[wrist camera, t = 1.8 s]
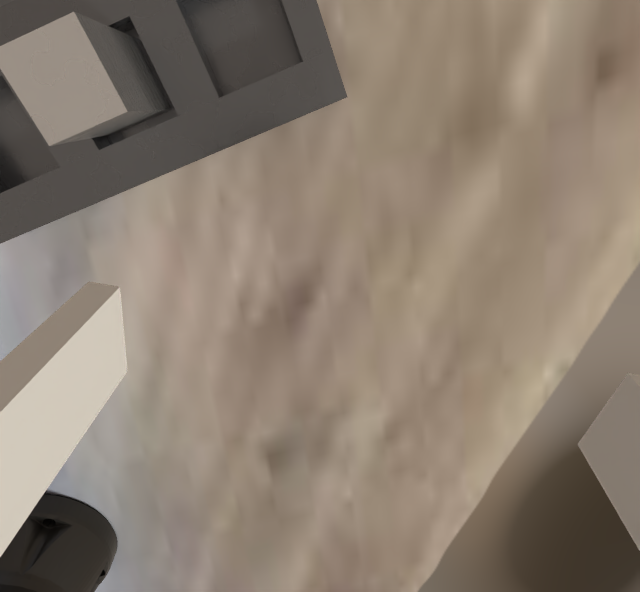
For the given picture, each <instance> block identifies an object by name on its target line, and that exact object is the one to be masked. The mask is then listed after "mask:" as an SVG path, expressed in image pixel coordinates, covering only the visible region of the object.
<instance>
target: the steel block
mask: <svg viewBox="0 0 640 592" xmlns="http://www.w3.org/2000/svg"><path fill="white" fill-rule="evenodd" d="M0 69H1V71H2V72H3V74H4V75H5V77H6V79H7V80H8V82H9V83H10V85H11V87H12V88H13V90H14V91H15V93H16V94H17V96H18V98H19V99H20V101H21V102H22V104H23V105H24V107H25V109H26V110H27V112H28V113H29V115H30V117H31V118H32V120H33V121H34V123H35V124H36V126H37V128H38V129H39V131H40V132H41V134H42V135H43V137H44V139H45V140H46V142H47V143H48V145H49V146H53V145H58V144H63V143H68V142H74V141H79V140H84V139H90V138H95V137H100V136H105V135H111V134H116V133H119V132H122V131H124V130H126V129H129V128H131V127H133V126H135V125H138V124H140V123H142V122H145V121H147V120H149V119H151V118H154V117H156V116H158V115H161V114H163V113H165V112H168V111H170V110H172V109H174V107H173V105H172V103H171V101H170V99H169V97H168V95H167V93H166V91H165V89H164V86H163V84H162V82H161V80H160V78H159V76H158V74H157V72H156V70H155V68H154V66H153V64H152V62H151V60H150V58H149V56H148V54H147V52H146V50H145V48H144V46H143V44H142V42H141V40H140V39H138V38H135V37H133V36H131V35H128V34H126V33H124V32H121V31H119V30H116V29H114V28H112V27H109V26H107V25H105V24H102V23H100V22H97V21H95V20H93V19H90V18H88V17H86V16H83V15H81V14H79V13H76V12H72V13H70V14H68V15H66V16H63V17H61V18H59V19H57V20H55V21H53V22H51V23H49V24H46V25H44V26H42V27H40V28H38V29H36V30H34V31H32V32H29V33H27V34H25V35H23V36H21V37H19V38H17V39H15V40H12V41H10V42H8V43H6V44H4V45H2V46H0Z"/></svg>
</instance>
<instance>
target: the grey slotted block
mask: <svg viewBox="0 0 640 592" xmlns="http://www.w3.org/2000/svg"><path fill="white" fill-rule="evenodd" d="M72 12H76V13H79V14H81V15H83V16H86V17H88V18H90V19H93V20H95V21H97V22H100V23H102V24H105V25H107V26H109V27H112V28H114V29H116V30H119V31H121V32H124V33H126V34H128V35H131V36H133V37H135V38H138V39H140V40H141V42H142V44H143V46H144V48H145V50H146V52H147V54H148V56H149V58H150V60H151V62H152V64H153V66H154V68H155V70H156V72H157V74H158V76H159V78H160V80H161V82H162V84H163V86H164V89H165V91H166V93H167V95H168V97H169V99H170V101H171V103H172V105H173V107H174V109H172V110H170V111H168V112H165V113H163V114H161V115H158V116H156V117H154V118H151V119H149V120H147V121H145V122H142V123H140V124H138V125H135V126H133V127H131V128H129V129H126V130H124V131H122V132H119V133H116V134H111V135H105V136H100V137H95V138H90V139H84V140H79V141H74V142H68V143H63V144H58V145H53V146H49V145H48V143H47V142H46V140H45V139H44V137H43V135H42V134H41V132H40V131H39V129H38V128H37V126H36V124H35V123H34V121H33V120H32V118H31V117H30V115H29V113H28V112H27V110H26V109H25V107H24V105H23V104H22V102H21V101H20V99H19V98H18V96H17V94H16V93H15V91H14V90H13V88H12V87H11V85H10V83H9V82H8V80H7V79H6V77H5V75H4V74H3V72H2V71H1V69H0V243H3V242H5V241H8V240H10V239H12V238H15V237H17V236H19V235H22V234H24V233H26V232H29V231H31V230H34V229H36V228H38V227H41V226H43V225H45V224H48V223H50V222H52V221H55V220H57V219H60V218H62V217H64V216H67V215H69V214H71V213H74V212H76V211H79V210H81V209H83V208H86V207H88V206H90V205H93V204H95V203H97V202H100V201H102V200H105V199H107V198H109V197H112V196H114V195H116V194H119V193H121V192H124V191H126V190H128V189H131V188H133V187H135V186H138V185H140V184H142V183H145V182H147V181H150V180H152V179H154V178H157V177H159V176H161V175H164V174H166V173H169V172H171V171H173V170H176V169H178V168H180V167H183V166H185V165H187V164H190V163H192V162H195V161H197V160H199V159H202V158H204V157H206V156H209V155H211V154H214V153H216V152H218V151H221V150H223V149H225V148H228V147H230V146H232V145H235V144H237V143H240V142H242V141H244V140H247V139H249V138H251V137H254V136H256V135H258V134H261V133H263V132H266V131H268V130H270V129H273V128H275V127H277V126H280V125H282V124H285V123H287V122H289V121H292V120H294V119H296V118H299V117H301V116H303V115H306V114H308V113H311V112H313V111H315V110H318V109H320V108H322V107H325V106H327V105H330V104H332V103H334V102H337V101H339V100H341V99H344V98H346V97H347V95H346V92H345V88H344V85H343V82H342V79H341V76H340V73H339V70H338V67H337V64H336V60H335V57H334V54H333V51H332V48H331V45H330V42H329V39H328V35H327V32H326V29H325V26H324V23H323V20H322V17H321V14H320V10H319V7H318V4H317V1H316V0H14V1H12V2H10V3H8V4H5V5H3V6H1V7H0V46H2V45H4V44H6V43H8V42H10V41H12V40H15V39H17V38H19V37H21V36H23V35H25V34H27V33H29V32H32V31H34V30H36V29H38V28H40V27H42V26H44V25H46V24H49V23H51V22H53V21H55V20H57V19H59V18H61V17H63V16H66V15H68V14H70V13H72Z"/></svg>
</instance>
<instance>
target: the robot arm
mask: <svg viewBox="0 0 640 592" xmlns="http://www.w3.org/2000/svg"><path fill="white" fill-rule="evenodd" d="M126 372H127V361H126V350H125V338H124V327H123V316H122V304H121V293H120V287H118V286H112V285H106V284H100V283H94V282H88V283H87V284H86V285H85V286H84V287H82V288H81V289H80V290H79V291H78V292H77V293H76V294H75V295H74V296H72V297H71V298H70V299H69V300H68V301H67V302H66V303H65V304H64V305H62V306H61V307H60V308H59V309H58V310H57V311H56V312H55V313H54V314H52V315H51V316H50V317H49V318H48V319H47V320H46V321H45V322H44V323H42V324H41V325H40V326H39V327H38V328H37V329H36V330H35V331H34V332H33V333H31V334H30V335H29V336H28V337H27V338H26V339H25V340H24V341H23V342H21V343H20V344H19V345H18V346H17V347H16V348H15V349H14V350H13V351H11V352H10V353H9V354H8V355H7V356H6V357H5V358H4V359H3V360H1V361H0V592H94V591H95V590H96V589H97V587H98V585H99V584H100V583H101V582H102V581H103V580H104V578H105V577H106V575H107V573H108V572H109V570H110V567H111V564H112V562H113V559H114V556H115V554H116V551H117V537H116V534H115V531H114V529H113V528H112V526H111V525H110V523H109V522H108V521H107V520H106V519H105V518H104V517H103V516H102V515H101V514H99V513H98V512H97V511H95V510H94V509H92V508H90V507H88V506H86V505H85V504H82V503H80V502H77V501H75V500H72V499H68V498H65V497H60V496H54V495H44V493H45V491H46V490H47V488H48V487H49V485H50V484H51V482H52V481H53V479H54V478H55V476H56V475H57V474H58V472H59V471H60V469H61V468H62V466H63V465H64V463H65V462H66V460H67V459H68V457H69V456H70V455H71V453H72V452H73V450H74V449H75V447H76V446H77V444H78V443H79V441H80V440H81V438H82V437H83V435H84V434H85V433H86V431H87V430H88V428H89V427H90V425H91V424H92V422H93V421H94V419H95V418H96V416H97V415H98V413H99V412H100V411H101V409H102V408H103V406H104V405H105V403H106V402H107V400H108V399H109V397H110V396H111V394H112V393H113V391H114V390H115V389H116V387H117V386H118V384H119V383H120V381H121V380H122V378H123V377H124V375H125V374H126ZM578 446H579V448H580V449H581V451H582V453H583V454H584V456H585V458H586V460H587V461H588V463H589V465H590V467H591V468H592V470H593V472H594V473H595V475H596V477H597V479H598V480H599V482H600V484H601V485H602V487H603V489H604V491H605V492H606V494H607V496H608V497H609V499H610V501H611V502H612V504H613V506H614V508H615V509H616V511H617V513H618V515H619V516H620V518H621V520H622V522H623V523H624V525H625V526H626V528H627V530H628V532H629V533H630V535H631V537H632V539H633V540H634V542H635V544H636V546H637V547H638V549H639V551H640V375H636V374H630V373H628V374H627V375H626V376H625V378H624V379H623V381H622V382H621V384H620V385H619V386H618V388H617V389H616V391H615V392H614V393H613V395H612V396H611V398H610V399H609V401H608V402H607V403H606V405H605V406H604V408H603V409H602V411H601V412H600V413H599V415H598V416H597V418H596V419H595V420H594V422H593V423H592V425H591V426H590V428H589V429H588V430H587V432H586V433H585V435H584V436H583V438H582V439H581V440H580V442H579V443H578Z"/></svg>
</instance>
